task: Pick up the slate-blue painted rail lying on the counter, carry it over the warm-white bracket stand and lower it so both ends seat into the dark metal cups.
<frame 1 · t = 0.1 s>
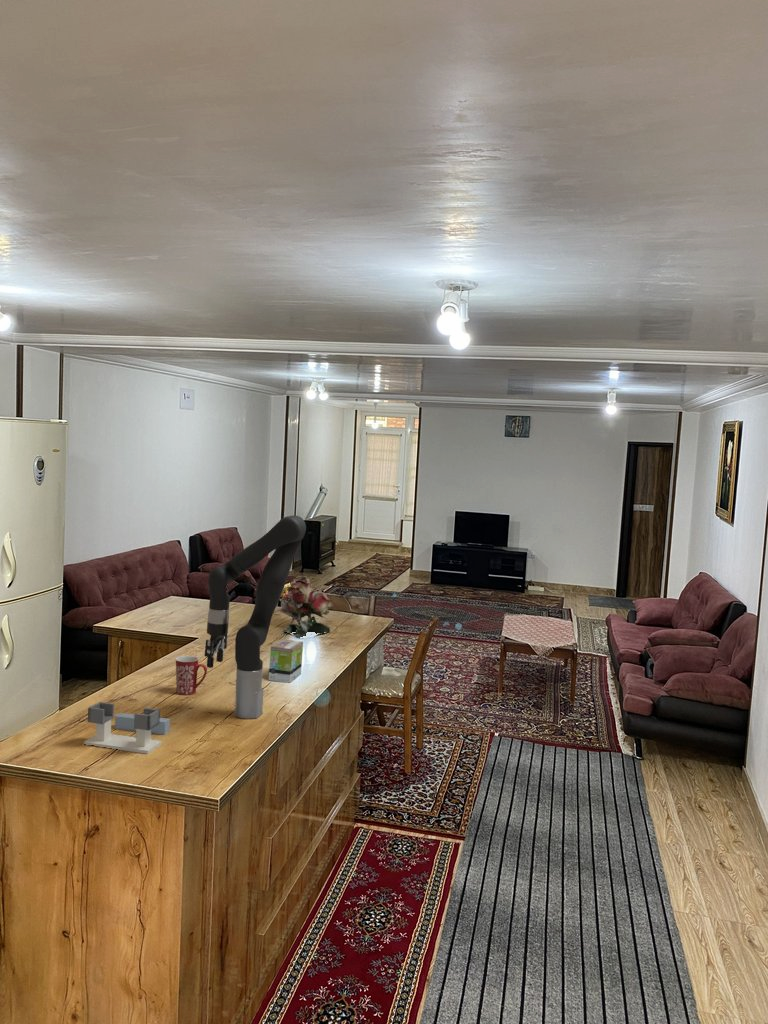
hand: (214, 664, 291), 17 cm above the table, tool pointing down, fingers open, 8 cm apart
tea box: (285, 677, 340), on the table
stand: (123, 744, 255), on the table
mug: (190, 693, 311), on the table
rail: (142, 730, 269), on the table
rose bouquet: (301, 631, 428), on the table
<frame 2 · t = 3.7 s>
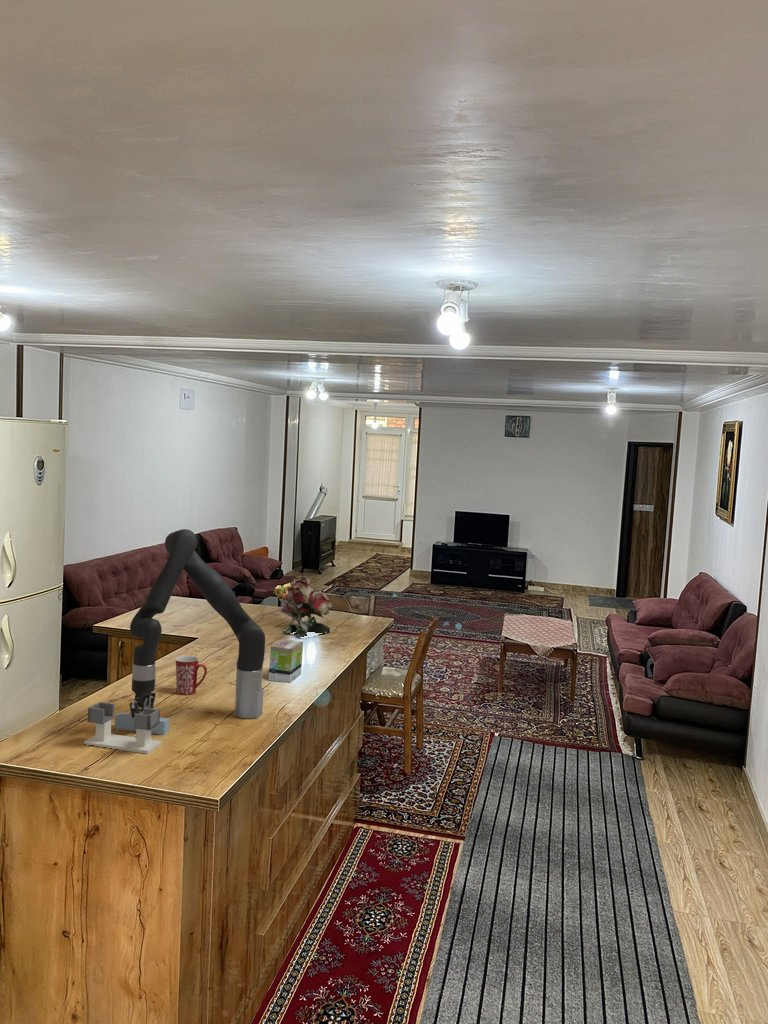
hand: (141, 726, 268), 1 cm above the table, tool pointing down, fingers closed on rail, 3 cm apart
rail: (141, 730, 268), on the table, touching gripper
everything else where it was.
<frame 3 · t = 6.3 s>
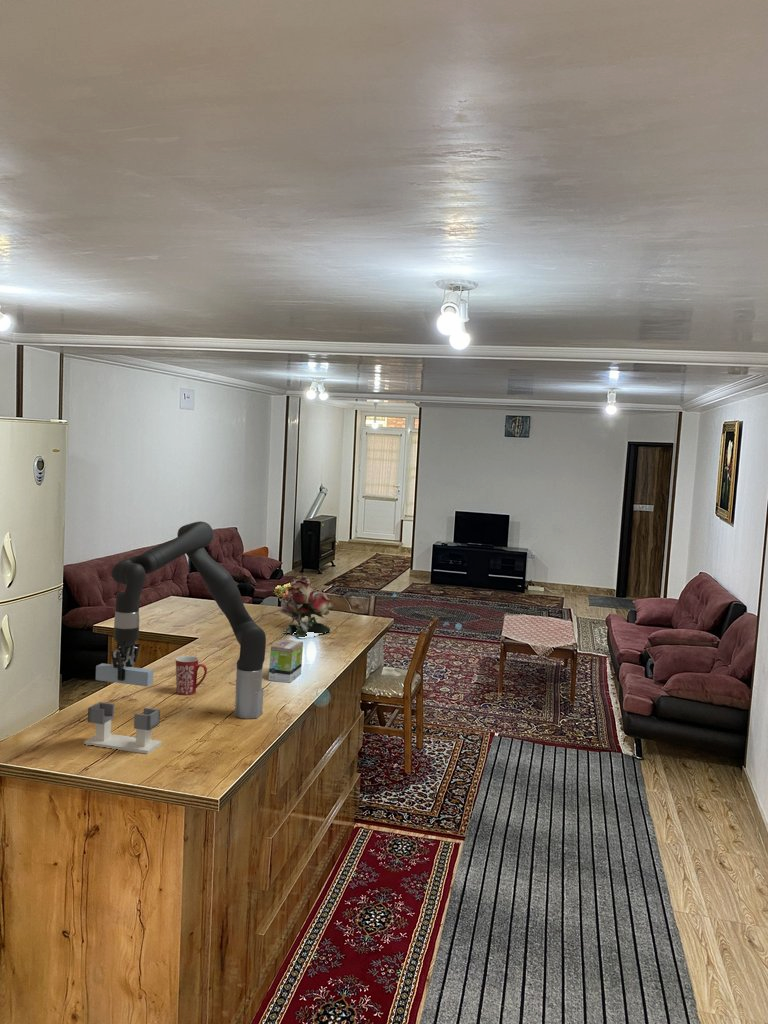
hand: (124, 678, 253), 21 cm above the table, tool pointing down, fingers closed on rail, 3 cm apart
rail: (124, 681, 254), point 20 cm above the table, touching gripper
everything else where it was.
when the fingers open (10 cm above the table, at t = 9.2 s): rail drops 1 cm, resting on stand.
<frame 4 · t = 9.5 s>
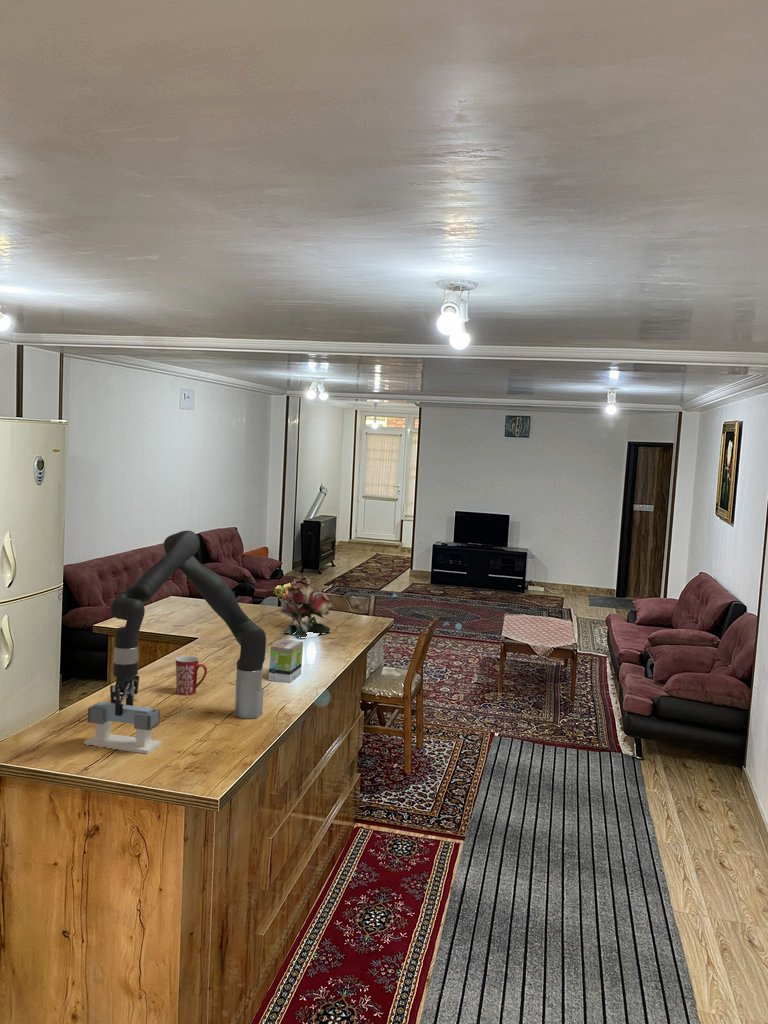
hand: (124, 712, 254), 11 cm above the table, tool pointing down, fingers open, 6 cm apart
rail: (123, 720, 254), point 8 cm above the table, touching stand
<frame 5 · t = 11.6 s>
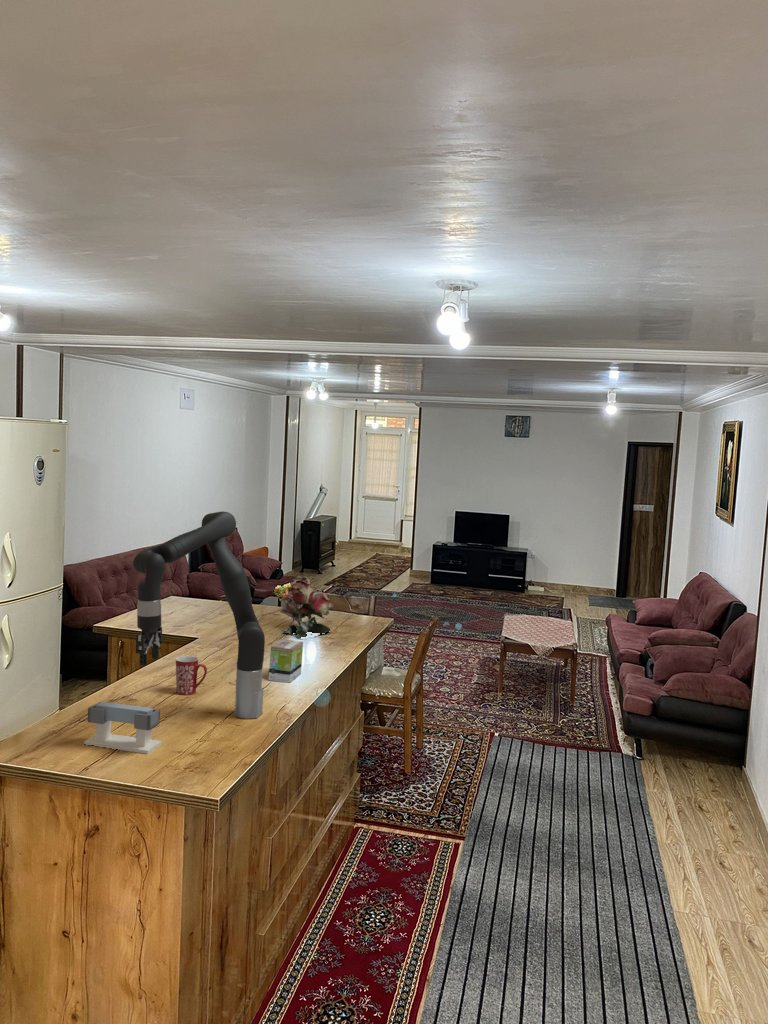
hand: (149, 661, 262), 25 cm above the table, tool pointing down, fingers open, 8 cm apart
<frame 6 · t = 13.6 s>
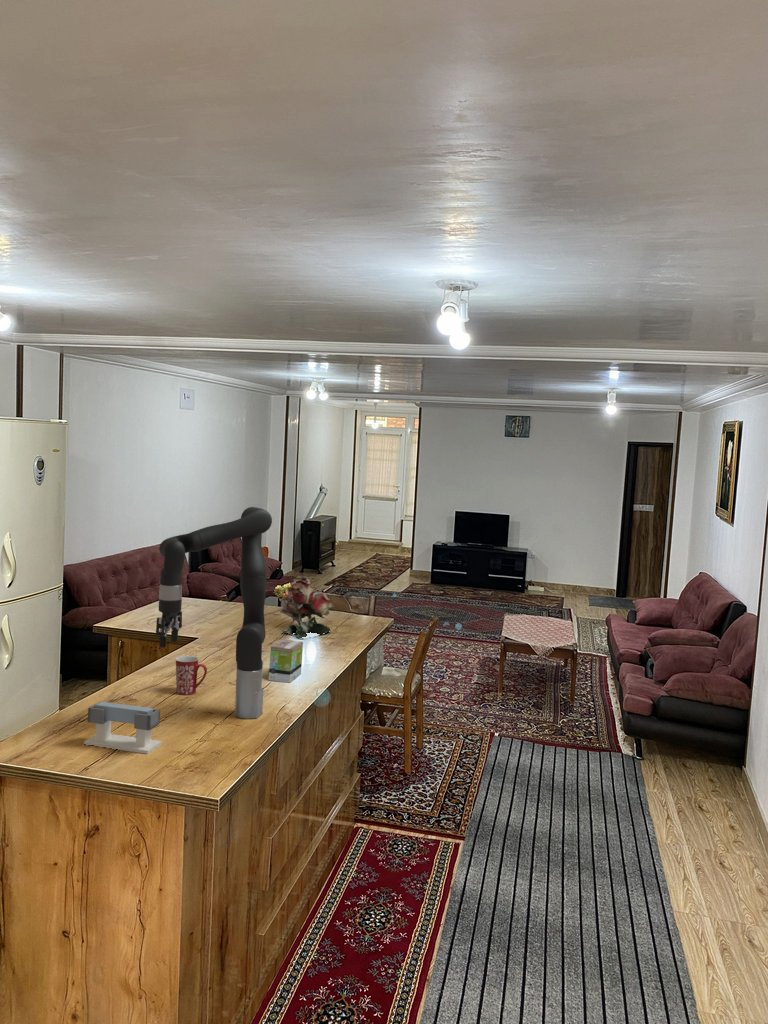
hand: (168, 644, 272), 28 cm above the table, tool pointing down, fingers open, 8 cm apart
at the end: rail 0.0 cm off-centre on the stand, point 7.8 cm above the stand's base; rail tilted 0°; the gripper is holding nothing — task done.
